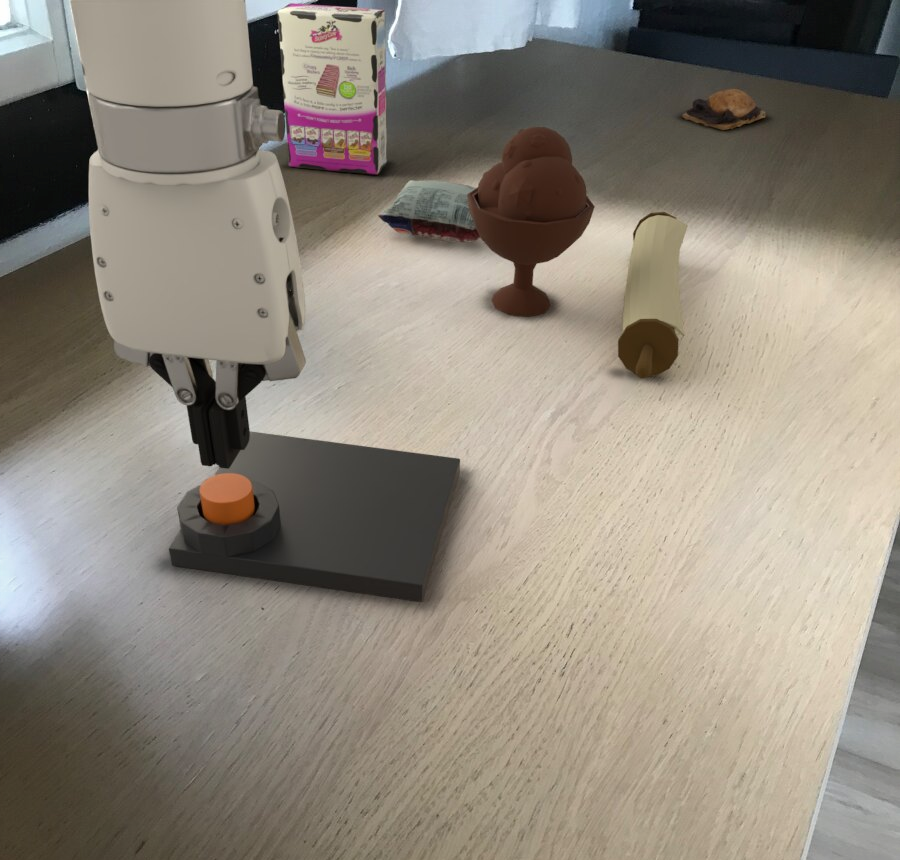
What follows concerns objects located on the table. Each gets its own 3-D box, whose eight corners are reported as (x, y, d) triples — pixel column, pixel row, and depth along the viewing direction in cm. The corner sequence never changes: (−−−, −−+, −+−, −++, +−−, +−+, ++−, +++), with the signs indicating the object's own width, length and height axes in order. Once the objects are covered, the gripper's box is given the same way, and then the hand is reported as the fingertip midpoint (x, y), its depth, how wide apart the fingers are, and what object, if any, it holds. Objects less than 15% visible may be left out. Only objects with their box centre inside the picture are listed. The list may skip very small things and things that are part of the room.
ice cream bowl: (442, 290, 93) (448, 120, 83) (542, 271, 97) (559, 108, 87) (496, 338, 86) (510, 159, 76) (602, 316, 90) (628, 144, 80)
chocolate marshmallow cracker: (721, 105, 144) (727, 77, 141) (770, 119, 139) (776, 91, 137) (676, 116, 138) (681, 88, 136) (724, 132, 134) (731, 102, 131)
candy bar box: (388, 163, 119) (387, 8, 108) (378, 176, 115) (377, 17, 104) (299, 154, 120) (289, -1, 109) (286, 167, 117) (275, 9, 106)
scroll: (631, 243, 103) (639, 195, 100) (685, 250, 102) (694, 201, 99) (604, 394, 80) (614, 337, 76) (674, 403, 79) (686, 346, 76)
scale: (170, 566, 61) (163, 528, 59) (243, 446, 72) (239, 410, 70) (421, 602, 60) (422, 565, 58) (459, 474, 70) (461, 438, 68)
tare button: (195, 522, 61) (191, 499, 59) (213, 492, 63) (210, 469, 62) (245, 529, 60) (242, 506, 59) (261, 499, 63) (259, 476, 61)
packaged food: (406, 209, 108) (406, 163, 104) (509, 227, 105) (513, 179, 102) (376, 239, 102) (375, 190, 98) (485, 258, 99) (488, 209, 96)
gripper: (349, 118, 49) (360, 437, 61) (65, 94, 50) (131, 409, 62) (307, 167, 43) (328, 507, 55) (-11, 138, 45) (77, 474, 57)
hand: (223, 454), depth 59 cm, fingers closed
